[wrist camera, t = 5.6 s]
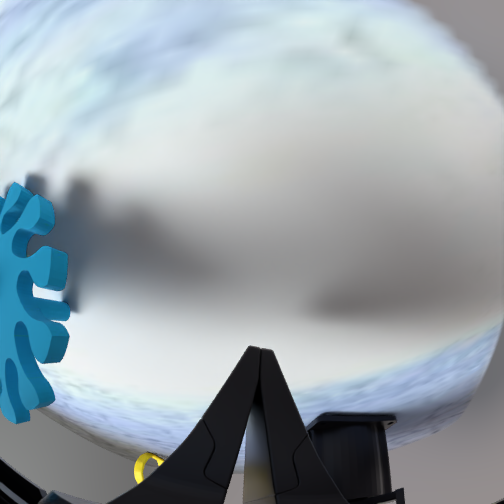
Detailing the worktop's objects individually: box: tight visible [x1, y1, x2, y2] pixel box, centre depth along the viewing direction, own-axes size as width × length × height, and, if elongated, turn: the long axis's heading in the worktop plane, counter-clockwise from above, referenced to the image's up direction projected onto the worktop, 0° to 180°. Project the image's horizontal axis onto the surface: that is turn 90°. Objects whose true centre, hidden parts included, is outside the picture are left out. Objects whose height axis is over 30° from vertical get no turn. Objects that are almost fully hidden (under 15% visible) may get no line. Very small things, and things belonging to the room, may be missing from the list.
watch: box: [134, 453, 165, 484], centre depth 25 cm, size 6×3×6 cm, turn 18°
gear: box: [0, 182, 70, 424], centre depth 9 cm, size 11×6×10 cm
